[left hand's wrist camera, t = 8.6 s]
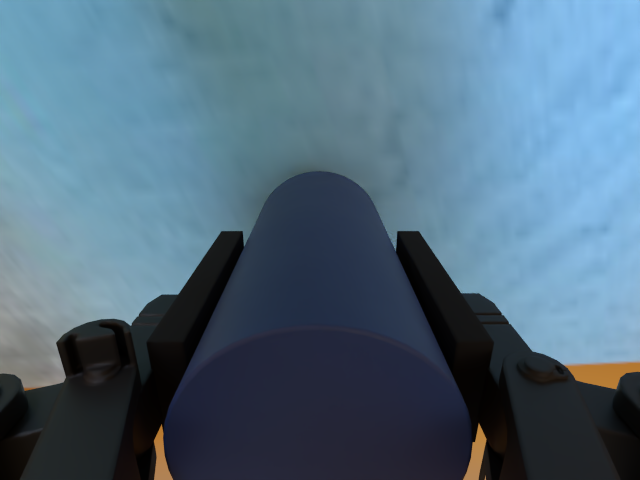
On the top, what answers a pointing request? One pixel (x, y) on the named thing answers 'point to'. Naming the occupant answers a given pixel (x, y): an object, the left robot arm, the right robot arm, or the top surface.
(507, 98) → the top surface
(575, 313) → the top surface
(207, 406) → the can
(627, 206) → the top surface
